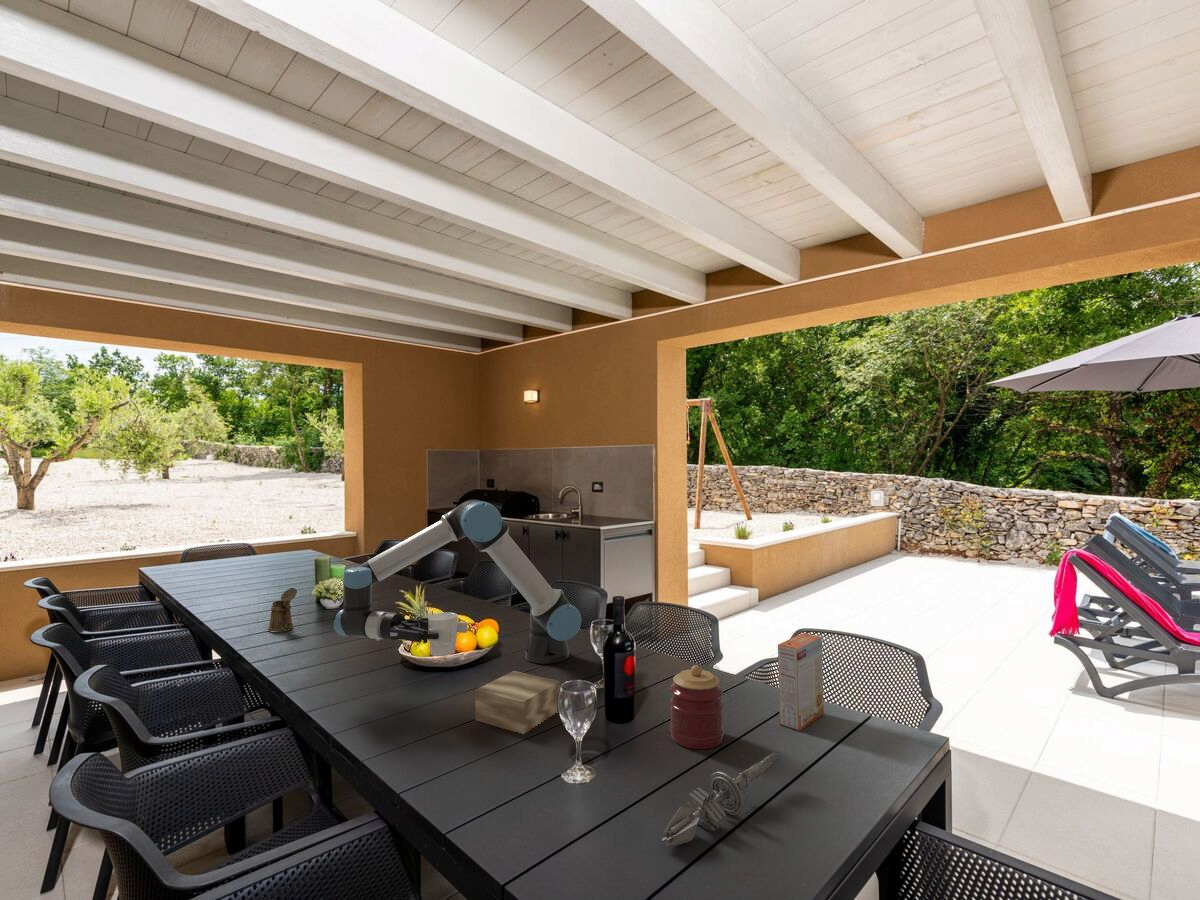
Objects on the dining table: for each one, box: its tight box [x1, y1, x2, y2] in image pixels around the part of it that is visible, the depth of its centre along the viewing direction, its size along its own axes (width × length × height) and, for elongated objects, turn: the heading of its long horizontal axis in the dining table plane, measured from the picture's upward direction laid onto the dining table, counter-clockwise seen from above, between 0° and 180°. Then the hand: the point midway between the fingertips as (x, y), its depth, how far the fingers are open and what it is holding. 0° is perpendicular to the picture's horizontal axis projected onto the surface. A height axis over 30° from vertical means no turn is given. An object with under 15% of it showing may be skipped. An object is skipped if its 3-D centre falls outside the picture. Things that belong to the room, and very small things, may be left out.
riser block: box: [474, 670, 561, 735], centre depth 159 cm, size 16×16×8 cm
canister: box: [669, 664, 725, 750], centre depth 146 cm, size 13×13×18 cm
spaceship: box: [661, 751, 780, 847], centre depth 115 cm, size 8×35×8 cm
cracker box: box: [777, 632, 825, 732], centre depth 155 cm, size 14×6×21 cm, turn 134°
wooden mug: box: [267, 587, 298, 632], centre depth 240 cm, size 9×14×18 cm, turn 55°
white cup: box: [427, 611, 459, 657], centre depth 163 cm, size 8×8×10 cm
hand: (458, 631), depth 161 cm, fingers closed on white cup, 8 cm apart
